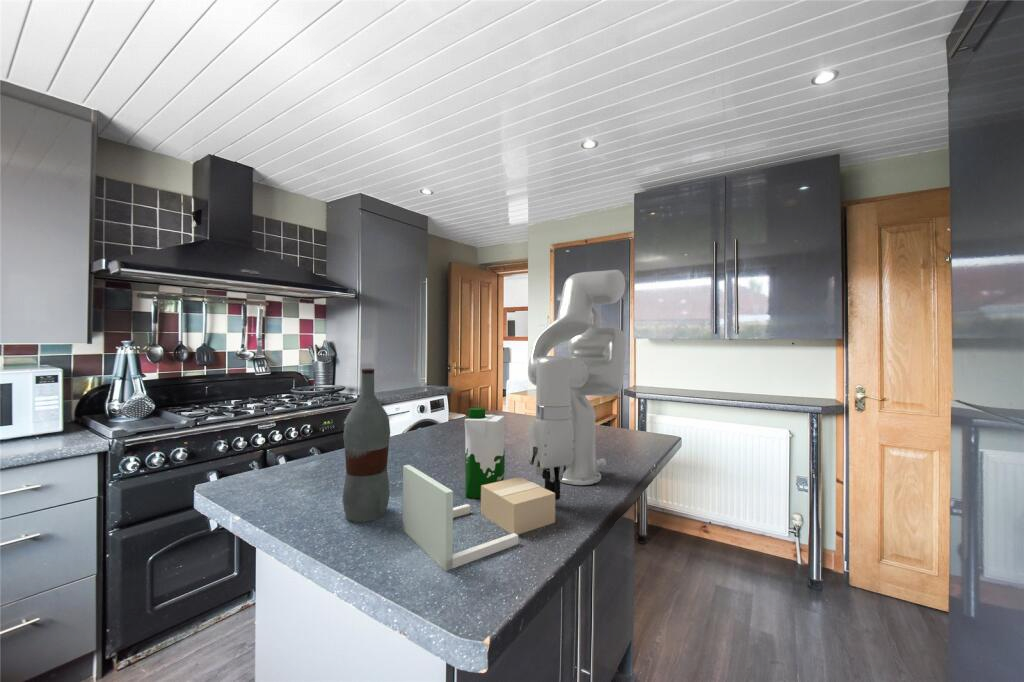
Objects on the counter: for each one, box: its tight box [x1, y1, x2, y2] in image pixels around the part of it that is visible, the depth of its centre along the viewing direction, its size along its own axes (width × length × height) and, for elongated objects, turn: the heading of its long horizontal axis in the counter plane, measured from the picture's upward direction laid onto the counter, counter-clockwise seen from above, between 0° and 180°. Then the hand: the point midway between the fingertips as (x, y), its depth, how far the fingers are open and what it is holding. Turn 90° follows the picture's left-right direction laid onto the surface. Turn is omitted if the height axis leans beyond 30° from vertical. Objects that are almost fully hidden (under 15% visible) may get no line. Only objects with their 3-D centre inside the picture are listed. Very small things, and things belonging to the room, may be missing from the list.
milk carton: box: [463, 406, 506, 500], centre depth 93 cm, size 9×9×20 cm
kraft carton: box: [480, 476, 556, 536], centre depth 80 cm, size 10×12×6 cm
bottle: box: [342, 367, 391, 523], centre depth 82 cm, size 9×9×30 cm
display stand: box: [402, 464, 519, 572], centre depth 72 cm, size 14×17×12 cm
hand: (552, 498), depth 86 cm, fingers closed
